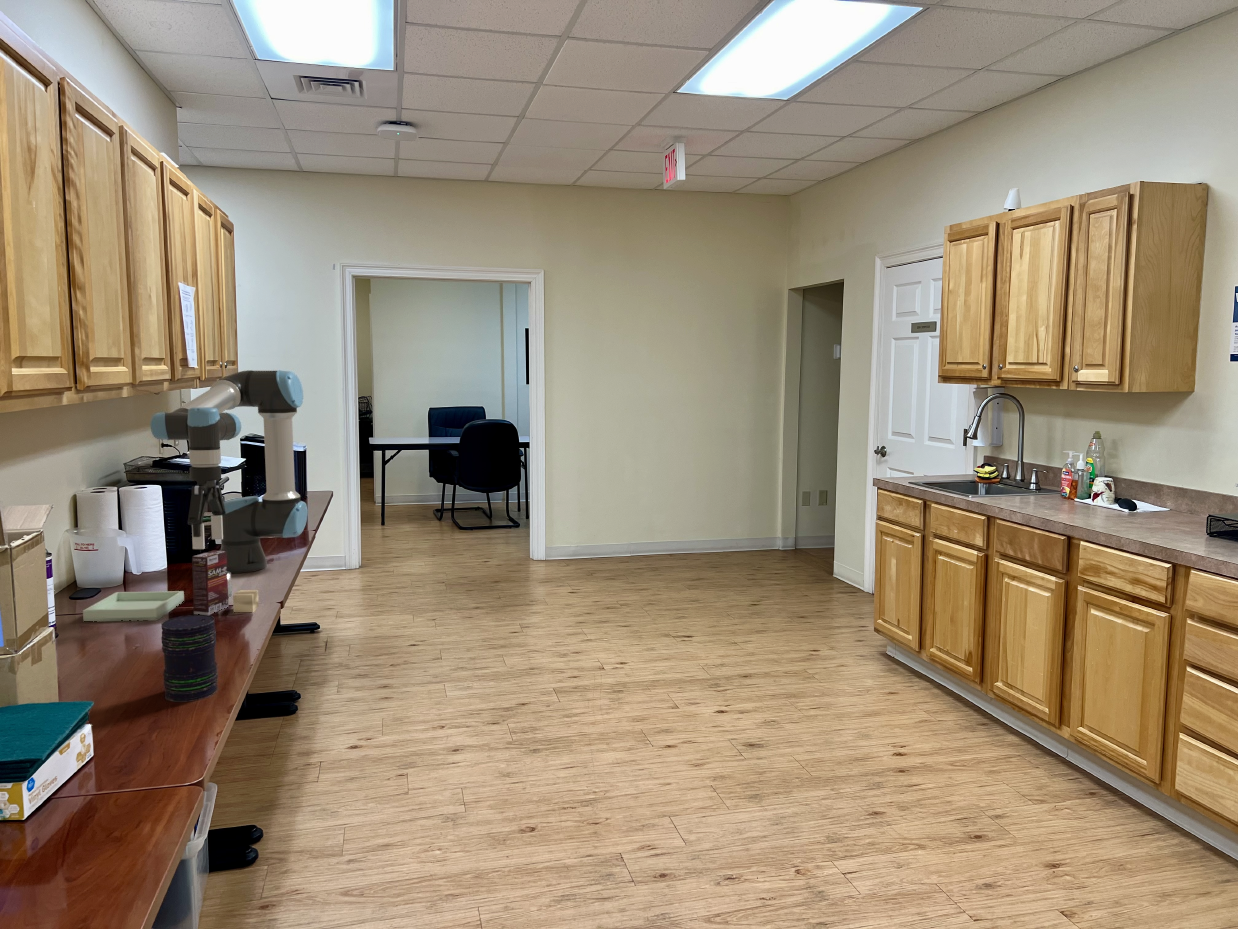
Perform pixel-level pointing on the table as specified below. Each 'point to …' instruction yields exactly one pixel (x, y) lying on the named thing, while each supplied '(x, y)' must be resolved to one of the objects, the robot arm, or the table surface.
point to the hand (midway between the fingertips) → (208, 543)
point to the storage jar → (189, 657)
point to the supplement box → (210, 582)
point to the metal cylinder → (229, 584)
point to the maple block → (245, 601)
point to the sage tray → (134, 606)
